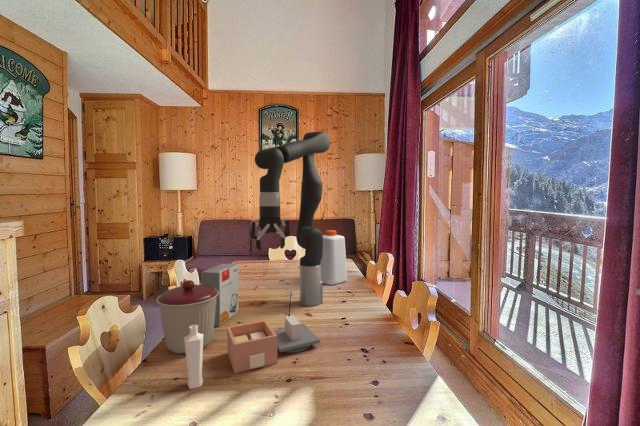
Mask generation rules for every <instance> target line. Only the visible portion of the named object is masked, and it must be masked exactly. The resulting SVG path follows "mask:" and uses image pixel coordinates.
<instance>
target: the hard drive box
mask: <svg viewBox="0 0 640 426" xmlns="http://www.w3.org/2000/svg"><path fill="white" fill-rule="evenodd" d="M200 272H201V273H200V283H201V284H200V285H207V286H211V287H213V288H215V289H217V290H218V291H219V294H218V296H217V298H216V310H215V321H214V327H221V326H222V325H223V324H225V323H226V322H227V321H228V320H230V319H231V318H233V317H234V316H235V315H236V314H237V313H238V312H239V309H240V308H239V301H240V300H239V264H238V263H236V264H235V263H220V264H218V265H215V266H213V267H211V268H208V269H205V270H203V271H200Z"/></svg>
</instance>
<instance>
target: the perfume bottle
mask: <svg viewBox="0 0 640 426" xmlns="http://www.w3.org/2000/svg"><path fill="white" fill-rule="evenodd" d="M189 328H190V334H189V335H188V336H186V337H184V341H185V351H186V353H185V358H186V368H187V377H188V379H187V386H188V388H189V389H190V390H192V389H195V388H200V387H201V386H202V385H203V382H204V378H203V375H202V374H203V355H204V348H203V337H204V334H200V333H198V325H192V326H190V327H189Z"/></svg>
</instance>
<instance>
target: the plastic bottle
mask: <svg viewBox="0 0 640 426" xmlns="http://www.w3.org/2000/svg"><path fill="white" fill-rule="evenodd" d="M322 235H323V256H322V259H321V281H322V282H323V284H325V285H328V286H335V284H336V285H338V284H342V283H345V282H347V280H348V268H347V256H346V255H347V254H346V253H347V252H346V240H345V239H346V238H345V236H343V235H340V234H337V230H334V229H329V230H328V229H326V230H325V234H322Z"/></svg>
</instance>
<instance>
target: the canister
mask: <svg viewBox="0 0 640 426" xmlns="http://www.w3.org/2000/svg"><path fill="white" fill-rule="evenodd" d="M218 294H219V291H218V290H217V289H215V288H213V287H211V286H207V285H201V284H195V281H193V280H190V279H188V280H185V281H183V282H182V285H180V286H176V287H173V288H171V289H168V290H166V291H164V292H163V293H161V294H160V295H158V296H157V298H156V300H155V301H156V303H157V304H158V306H159V313H160V318H161V324H162V326H161V327H162V331H163V335H164V341H165V344H166V347H167V349H168V350H170V352H173V353H175V354H180V355H181V354H186V351H185V341H184V337H186V336H188V335H189V334H190V328H189V327H190V326H192V325H198V333H200V334H204V337H203V349H205V348H206V347H207V346H208V345H210V343H211V341H212V339H213V336H214V330H215V329H214V328H215V326H214V321H215V310H216V298H217V296H218Z"/></svg>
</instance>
